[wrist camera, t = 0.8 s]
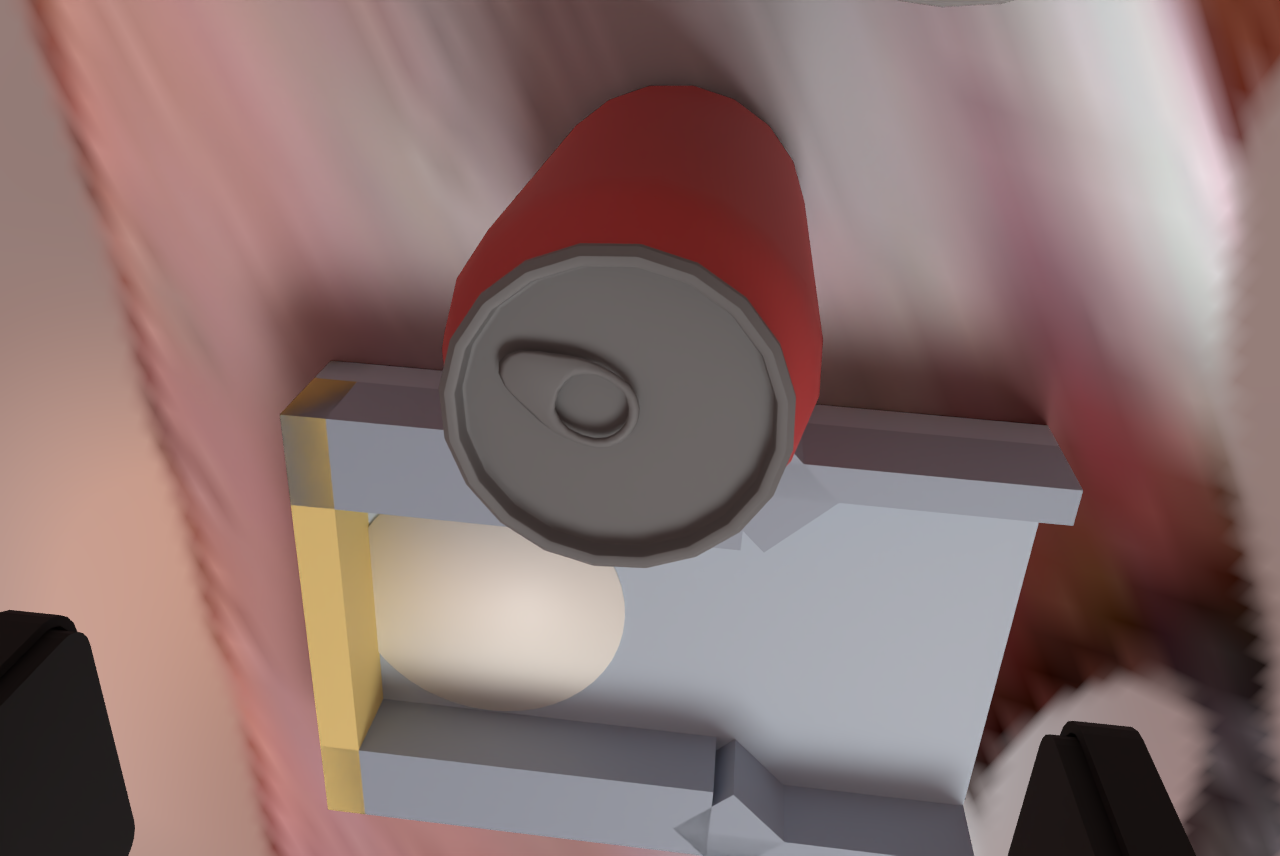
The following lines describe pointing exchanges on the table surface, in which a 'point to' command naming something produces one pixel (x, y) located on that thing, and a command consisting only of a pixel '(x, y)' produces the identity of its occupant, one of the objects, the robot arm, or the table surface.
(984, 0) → the canned tomato
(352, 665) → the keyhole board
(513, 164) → the table surface
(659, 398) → the beer can
